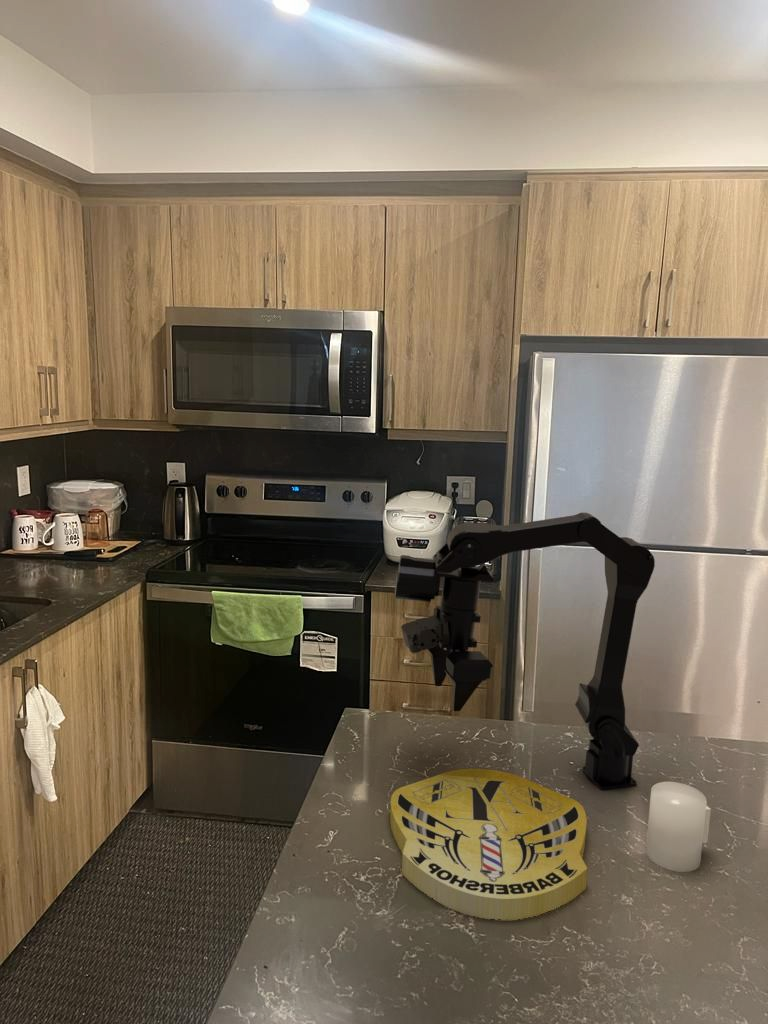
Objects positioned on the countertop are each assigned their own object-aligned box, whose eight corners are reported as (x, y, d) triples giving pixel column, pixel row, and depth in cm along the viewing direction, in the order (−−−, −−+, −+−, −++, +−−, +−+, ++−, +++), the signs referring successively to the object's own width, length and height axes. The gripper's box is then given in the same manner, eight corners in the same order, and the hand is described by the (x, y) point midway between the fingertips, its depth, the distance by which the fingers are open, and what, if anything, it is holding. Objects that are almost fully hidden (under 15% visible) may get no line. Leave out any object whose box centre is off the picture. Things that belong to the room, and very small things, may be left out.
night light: (685, 836, 107) (691, 778, 105) (718, 867, 100) (724, 805, 99) (635, 843, 105) (640, 784, 103) (665, 875, 98) (671, 813, 97)
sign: (376, 888, 90) (396, 763, 120) (375, 912, 91) (396, 781, 120) (612, 908, 88) (574, 775, 117) (610, 932, 88) (573, 794, 118)
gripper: (394, 585, 124) (384, 674, 126) (428, 624, 106) (415, 726, 109) (457, 587, 127) (446, 674, 129) (500, 625, 109) (486, 724, 112)
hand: (446, 697), depth 120 cm, fingers open, 9 cm apart
